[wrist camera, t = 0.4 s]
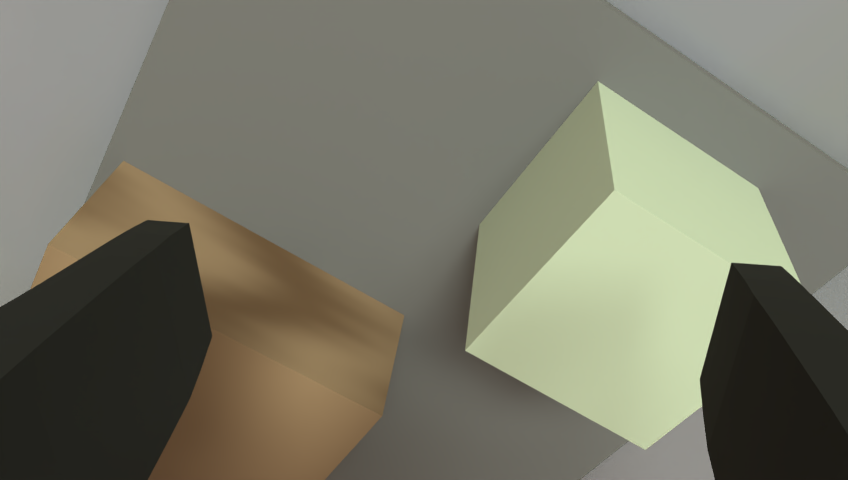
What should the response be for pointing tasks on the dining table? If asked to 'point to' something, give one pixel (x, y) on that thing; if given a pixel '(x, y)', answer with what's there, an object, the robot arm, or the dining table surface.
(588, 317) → the sage cube
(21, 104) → the dining table surface
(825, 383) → the robot arm
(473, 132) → the building mat
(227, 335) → the walnut base block
